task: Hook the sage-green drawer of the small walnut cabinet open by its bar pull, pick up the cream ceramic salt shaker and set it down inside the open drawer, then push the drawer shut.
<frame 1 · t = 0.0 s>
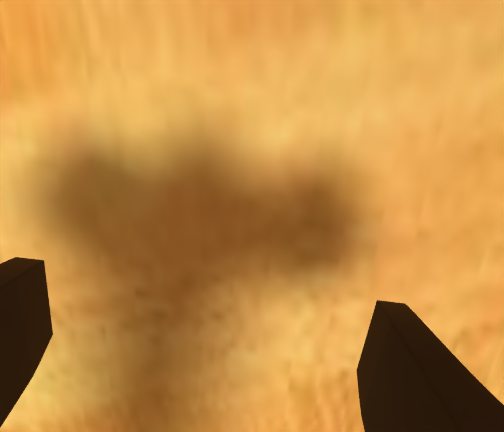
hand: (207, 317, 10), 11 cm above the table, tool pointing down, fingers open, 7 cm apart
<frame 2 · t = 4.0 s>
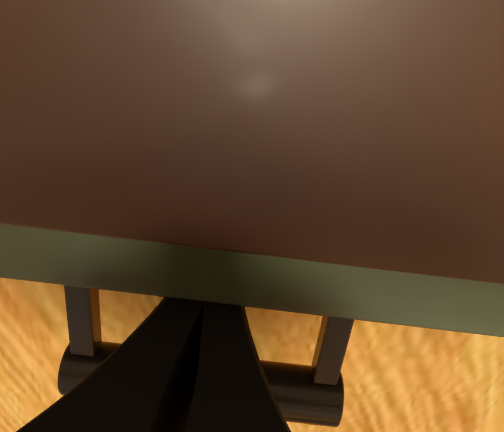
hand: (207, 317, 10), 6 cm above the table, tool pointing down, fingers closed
drawer: (238, 31, 9), point 4 cm above the table, slide at 0.4 cm
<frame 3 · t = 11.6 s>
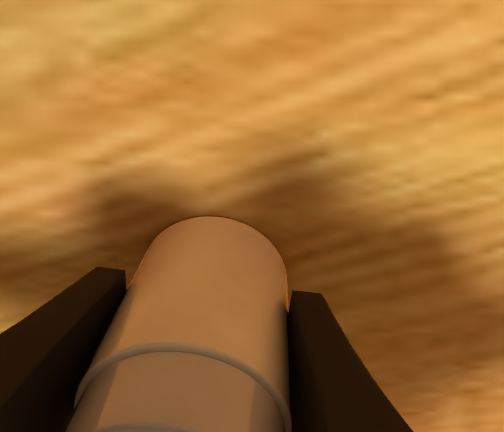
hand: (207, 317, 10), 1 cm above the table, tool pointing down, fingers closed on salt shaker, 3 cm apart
salt shaker: (214, 280, 11), on the table, touching gripper
when the fingers open (5 cm above the table, at t = 17.9 s): salt shaker stays where it is, resting on drawer.
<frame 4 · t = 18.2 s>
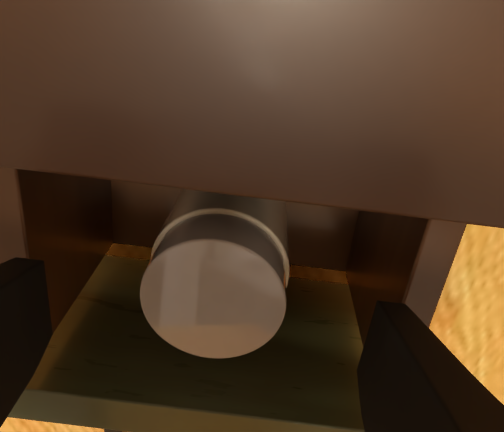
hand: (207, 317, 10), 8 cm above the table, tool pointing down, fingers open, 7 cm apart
drawer: (226, 243, 13), point 4 cm above the table, slide at 6.6 cm, touching salt shaker
salt shaker: (234, 203, 15), point 2 cm above the table, touching drawer
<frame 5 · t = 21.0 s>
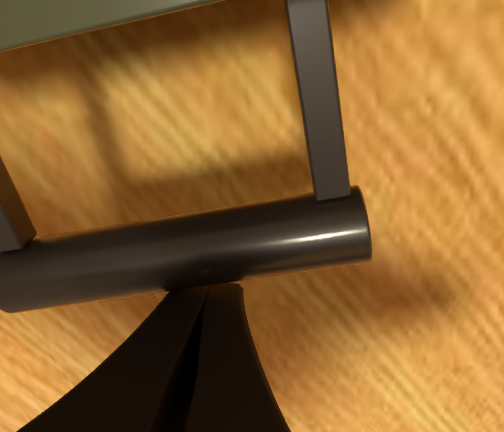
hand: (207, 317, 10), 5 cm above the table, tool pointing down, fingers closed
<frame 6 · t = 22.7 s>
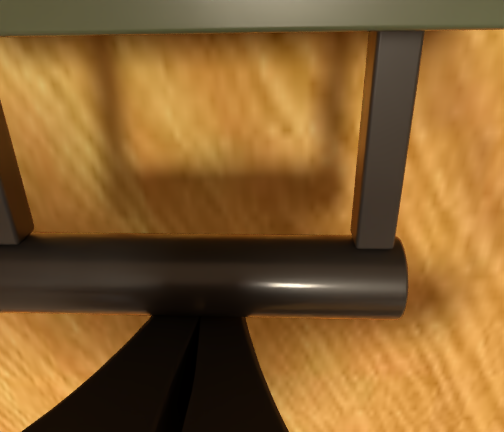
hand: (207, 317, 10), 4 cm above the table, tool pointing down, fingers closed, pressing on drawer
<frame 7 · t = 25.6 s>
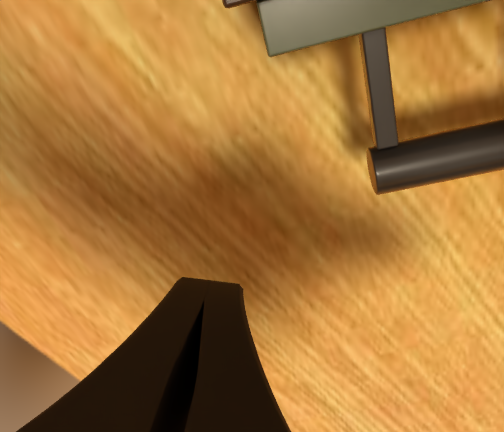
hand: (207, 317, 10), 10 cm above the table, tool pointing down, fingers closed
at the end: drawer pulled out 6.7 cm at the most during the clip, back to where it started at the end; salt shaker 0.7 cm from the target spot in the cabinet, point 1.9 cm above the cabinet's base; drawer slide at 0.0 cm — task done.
